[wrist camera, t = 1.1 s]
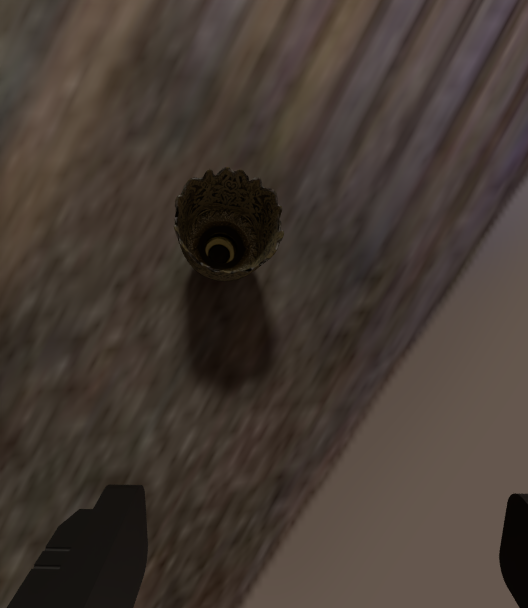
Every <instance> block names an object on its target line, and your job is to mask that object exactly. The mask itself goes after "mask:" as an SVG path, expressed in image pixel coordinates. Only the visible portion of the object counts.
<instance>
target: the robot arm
mask: <svg viewBox="0 0 528 608" xmlns="http://www.w3.org/2000/svg"><path fill="white" fill-rule="evenodd" d="M147 553H148V539H147V522H146V505H145V491H144V487H143V486H142V485H107V486H106V487H105V489H104V491H103V492H102V494H101V496H100V498H99V499H98V501H97V503H96V505H95V507H94V508H93V509H79V510H78V511H77V512H75V513H74V514H73V515H72V516H71V517H69V518H68V519H67V520H66V521H65V522H63V523H62V524H61V525H60V526H59V527H58V528H57V530H56V531H55V533H54V535H53V536H52V538H51V539H50V541H49V542H48V544H47V546H46V549H45V551H43V552H42V553H41V555H40V557H39V558H38V560H37V561H36V563H35V564H34V569H31V571H30V572H29V574H28V575H27V577H26V578H25V580H24V582H23V583H22V585H21V586H20V588H19V589H18V591H17V593H16V594H15V596H14V597H13V599H12V600H11V602H10V603H9V605H8V607H7V608H133V607H134V604H135V601H136V598H137V595H138V592H139V589H140V586H141V583H142V580H143V576H144V572H145V568H146V562H147ZM499 560H500V567H501V572H502V575H503V578H504V581H505V583H506V585H507V587H508V589H509V591H510V592H511V594H512V596H513V597H514V599H515V601H516V602H517V604H518V606H519V607H520V608H528V494H512V495H511V496H510V497H509V499H508V502H507V508H506V515H505V521H504V527H503V533H502V539H501V546H500V553H499Z"/></svg>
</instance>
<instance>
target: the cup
mask: <svg viewBox="0 0 528 608" xmlns="http://www.w3.org/2000/svg"><path fill="white" fill-rule="evenodd" d="M175 207H176V214H175V225H174V229H175V232H176V235H177V237H178V241H179V244H180V247H181V249H182V252H183V254H184V256H185V258H186V259H187V261H188V262H189V264H190V265H191V266H192V267H193V268H194V269H195V270H196V271H197V272H199V273H200V274H202V275H203V276H205V277H207V278H210V279H213V280H218V281H232V280H237V279H240V278H242V277H245V276H247V275H248V274H250V273H252V272H253V271H254V270H256V269H257V268H258V267H260V266H261V265H262V264H264V263H265V262H266V261H268V260H269V259H270V258H271V257H272V256H273V255H274V254H275V252H276V251H277V249H278V246H279V244H280V241H281V240H282V238H283V235H284V231H281V230H280V227H281V222H280V216H281V212H282V207H281V206H280V205H278V204H277V194H276V192H275V191H274V190H273V189H270V188H264V187H262V182H261V178H259V177H257V178H254V179H253V180H251V181H249V178H248V176H247V175H246V174H245V172H244V171H243V170H237V171H234V172H233V170H231V169H230V168H229V167H226V168H223V169H222V170H221V171H220V172H219V173H218V174H217V175H216V176H215V175H214V174H213V171H212V170H211V169H209V170H208V171H206V173H205V175H204V177H203V178H200V179H199V178H191V179H189V180H188V182H187V183H186V185H185V186H184V189H183V191H182V193H181V195H178V197H177V198H176V201H175ZM215 245H222V246H224V247H226V248H227V250H228V252H229V258H228V260H227V261H226V262H224V263H222V264H221V263H216V262H214V261H212V260H211V258H210V256H209V252H210V250H211V248H212V247H213V246H215Z"/></svg>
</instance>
